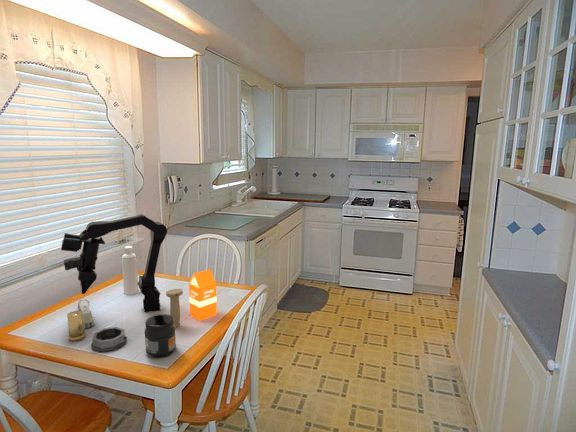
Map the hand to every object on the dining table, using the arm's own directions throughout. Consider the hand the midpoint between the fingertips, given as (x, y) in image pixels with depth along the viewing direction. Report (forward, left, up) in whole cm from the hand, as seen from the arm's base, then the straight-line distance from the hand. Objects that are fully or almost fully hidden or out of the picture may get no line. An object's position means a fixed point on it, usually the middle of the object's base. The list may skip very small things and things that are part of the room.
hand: (82, 289), depth 153 cm
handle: (-35, +15, -14) cm, 41 cm away
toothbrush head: (+1, -5, -15) cm, 15 cm away
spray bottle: (-16, -28, -14) cm, 36 cm away
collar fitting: (-11, +22, -14) cm, 28 cm away
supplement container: (-29, +33, -14) cm, 46 cm away
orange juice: (-47, +8, -14) cm, 50 cm away
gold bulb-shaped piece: (+1, +14, -14) cm, 20 cm away
